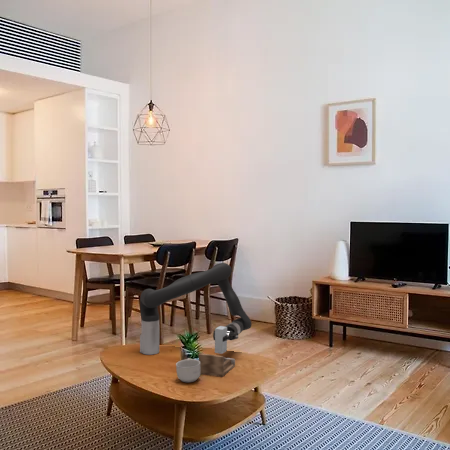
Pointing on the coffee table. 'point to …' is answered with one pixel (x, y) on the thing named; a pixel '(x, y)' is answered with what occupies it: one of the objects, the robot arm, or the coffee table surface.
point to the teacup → (188, 370)
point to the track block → (215, 364)
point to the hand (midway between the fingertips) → (218, 339)
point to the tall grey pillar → (220, 339)
